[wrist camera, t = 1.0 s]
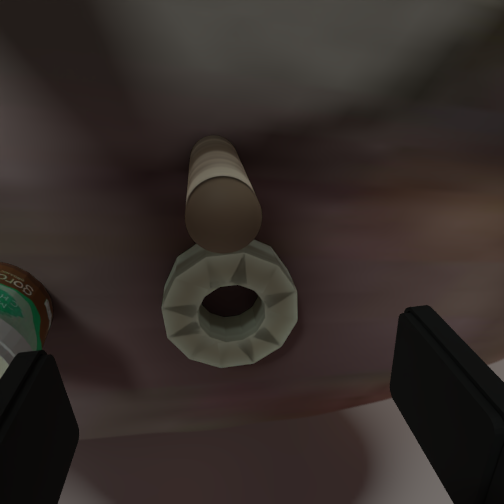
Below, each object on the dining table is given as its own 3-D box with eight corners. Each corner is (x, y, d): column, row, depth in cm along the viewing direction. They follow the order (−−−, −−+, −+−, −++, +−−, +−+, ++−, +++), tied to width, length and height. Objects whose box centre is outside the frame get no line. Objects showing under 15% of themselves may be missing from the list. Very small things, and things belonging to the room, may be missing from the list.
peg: (186, 137, 32) (179, 185, 19) (235, 133, 32) (260, 177, 19) (193, 185, 33) (190, 257, 21) (239, 180, 34) (264, 249, 21)
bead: (156, 243, 35) (152, 263, 32) (286, 228, 36) (296, 246, 33) (177, 347, 40) (175, 374, 37) (289, 331, 41) (298, 357, 38)
